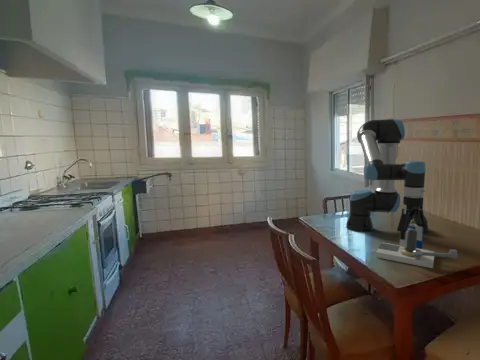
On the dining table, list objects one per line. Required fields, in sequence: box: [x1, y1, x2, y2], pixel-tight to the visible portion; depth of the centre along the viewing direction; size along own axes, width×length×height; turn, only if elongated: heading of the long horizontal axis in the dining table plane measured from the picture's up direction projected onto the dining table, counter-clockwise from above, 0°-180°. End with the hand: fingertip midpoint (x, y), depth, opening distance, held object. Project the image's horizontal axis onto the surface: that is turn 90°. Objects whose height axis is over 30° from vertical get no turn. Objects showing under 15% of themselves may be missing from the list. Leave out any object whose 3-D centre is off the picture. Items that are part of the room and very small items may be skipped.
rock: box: [411, 215, 430, 233], centre depth 170 cm, size 12×10×10 cm
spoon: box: [413, 248, 458, 259], centre depth 123 cm, size 3×16×3 cm, turn 76°
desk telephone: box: [375, 242, 436, 269], centre depth 133 cm, size 22×15×4 cm
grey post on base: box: [400, 228, 417, 257], centre depth 130 cm, size 8×8×14 cm
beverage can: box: [408, 222, 424, 249], centre depth 143 cm, size 6×6×12 cm
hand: (410, 243), depth 130 cm, fingers open, 13 cm apart
